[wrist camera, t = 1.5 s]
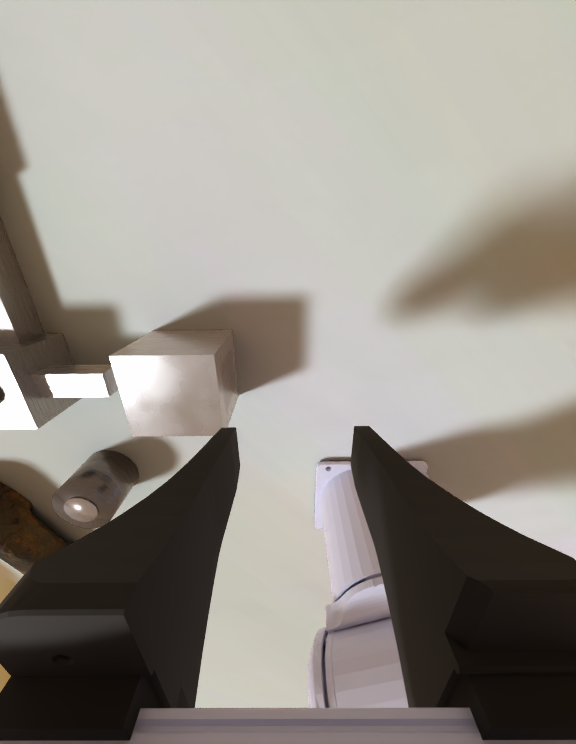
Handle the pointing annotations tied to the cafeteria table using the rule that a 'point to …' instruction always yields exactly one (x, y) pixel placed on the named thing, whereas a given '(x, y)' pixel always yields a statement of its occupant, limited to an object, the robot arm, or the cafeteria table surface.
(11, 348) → the ratchet
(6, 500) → the rough brown wooden log
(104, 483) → the socket
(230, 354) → the grey block
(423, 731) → the robot arm
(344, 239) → the cafeteria table surface
